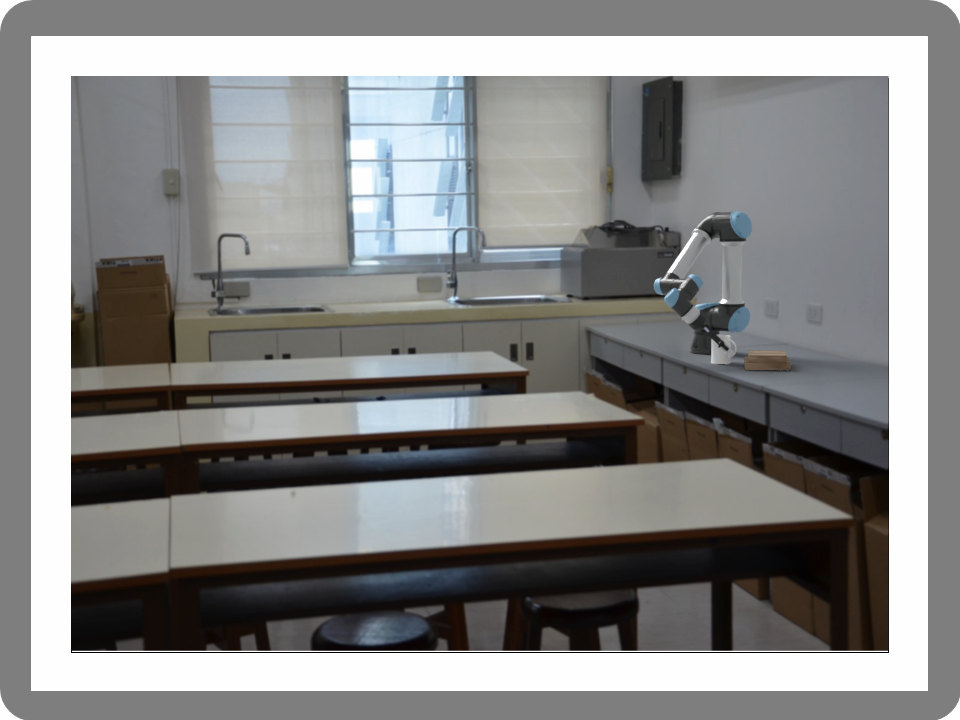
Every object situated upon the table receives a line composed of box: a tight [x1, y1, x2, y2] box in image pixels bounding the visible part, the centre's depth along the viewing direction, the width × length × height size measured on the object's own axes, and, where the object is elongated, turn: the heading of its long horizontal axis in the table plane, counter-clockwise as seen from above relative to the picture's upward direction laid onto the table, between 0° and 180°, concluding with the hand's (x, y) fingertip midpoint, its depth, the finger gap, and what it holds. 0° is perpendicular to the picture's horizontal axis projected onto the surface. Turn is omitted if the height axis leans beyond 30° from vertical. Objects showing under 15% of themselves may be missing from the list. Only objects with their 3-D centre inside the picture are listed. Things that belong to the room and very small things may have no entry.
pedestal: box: [743, 349, 792, 372], centre depth 400 cm, size 19×18×6 cm
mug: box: [710, 334, 738, 365], centre depth 413 cm, size 12×8×12 cm
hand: (730, 353), depth 413 cm, fingers open, 11 cm apart
